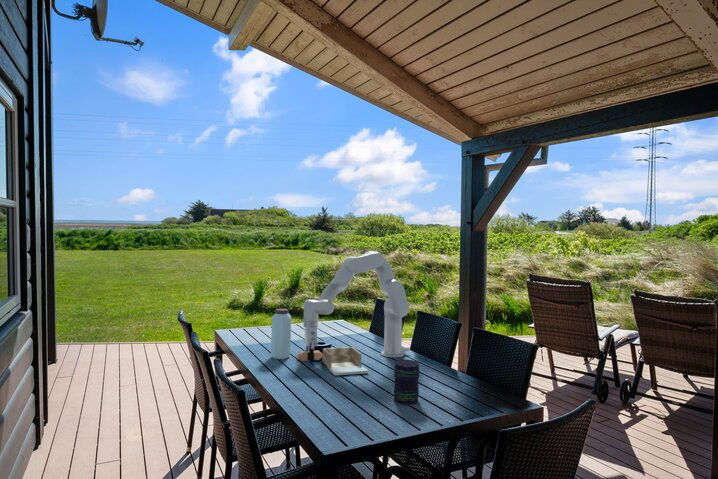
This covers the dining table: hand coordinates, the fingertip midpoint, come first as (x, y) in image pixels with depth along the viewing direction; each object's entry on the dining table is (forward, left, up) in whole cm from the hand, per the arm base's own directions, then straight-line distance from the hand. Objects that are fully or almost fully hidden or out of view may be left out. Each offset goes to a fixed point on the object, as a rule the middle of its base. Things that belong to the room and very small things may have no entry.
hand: (309, 358), depth 232 cm
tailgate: (-13, +22, 0) cm, 26 cm away
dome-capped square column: (0, 0, 0) cm, 0 cm away
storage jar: (-24, +67, -1) cm, 71 cm away
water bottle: (+14, -7, -1) cm, 16 cm away
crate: (-13, +14, 0) cm, 19 cm away
